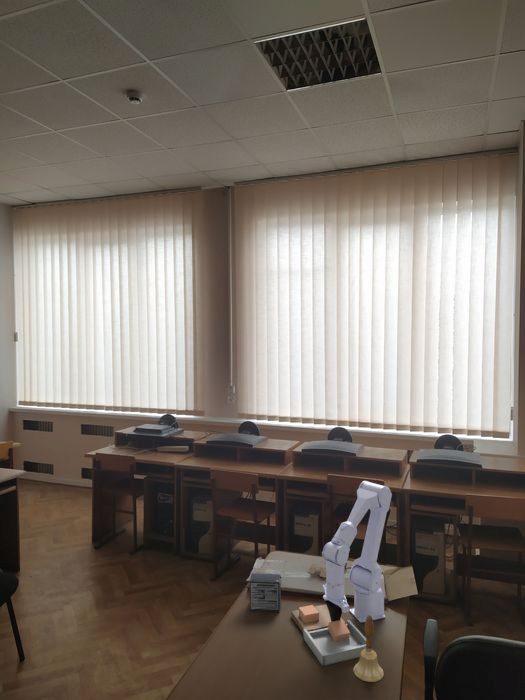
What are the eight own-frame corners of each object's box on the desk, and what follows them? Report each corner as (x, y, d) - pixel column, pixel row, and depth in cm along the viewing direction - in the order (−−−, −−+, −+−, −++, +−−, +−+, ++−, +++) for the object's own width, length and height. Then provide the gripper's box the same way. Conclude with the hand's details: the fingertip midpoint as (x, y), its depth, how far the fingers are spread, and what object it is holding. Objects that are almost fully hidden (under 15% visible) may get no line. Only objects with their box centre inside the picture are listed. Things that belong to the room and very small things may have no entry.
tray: (349, 628, 163) (349, 619, 163) (372, 654, 150) (371, 644, 150) (303, 638, 158) (303, 629, 158) (322, 666, 145) (322, 655, 145)
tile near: (341, 625, 162) (343, 619, 161) (349, 638, 157) (350, 632, 156) (327, 628, 160) (328, 622, 159) (334, 642, 156) (335, 635, 155)
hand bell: (383, 664, 145) (383, 609, 145) (384, 684, 137) (384, 626, 137) (353, 661, 147) (353, 606, 147) (353, 680, 139) (353, 622, 138)
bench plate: (329, 609, 175) (329, 603, 175) (345, 628, 163) (345, 622, 163) (291, 616, 170) (291, 611, 170) (305, 637, 159) (305, 630, 159)
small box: (281, 602, 180) (281, 573, 179) (280, 612, 173) (280, 582, 173) (251, 601, 181) (251, 572, 180) (249, 611, 174) (249, 581, 174)
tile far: (312, 612, 169) (312, 604, 169) (319, 620, 165) (319, 612, 165) (298, 614, 168) (298, 607, 168) (304, 623, 163) (304, 615, 163)
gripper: (314, 573, 167) (314, 613, 167) (334, 594, 153) (334, 638, 153) (333, 569, 169) (333, 610, 169) (355, 590, 155) (355, 634, 155)
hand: (335, 623), depth 161 cm, fingers closed
